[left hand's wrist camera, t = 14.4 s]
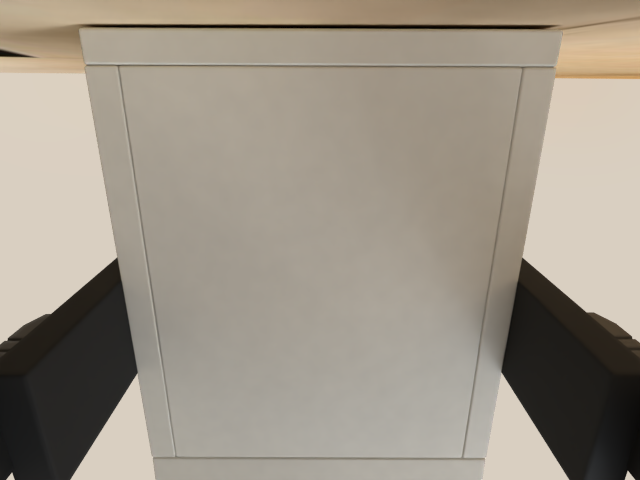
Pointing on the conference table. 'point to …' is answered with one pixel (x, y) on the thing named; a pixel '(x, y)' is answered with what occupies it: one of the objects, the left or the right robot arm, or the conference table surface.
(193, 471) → the lid
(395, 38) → the chest
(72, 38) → the conference table surface
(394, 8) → the conference table surface
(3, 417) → the left robot arm
